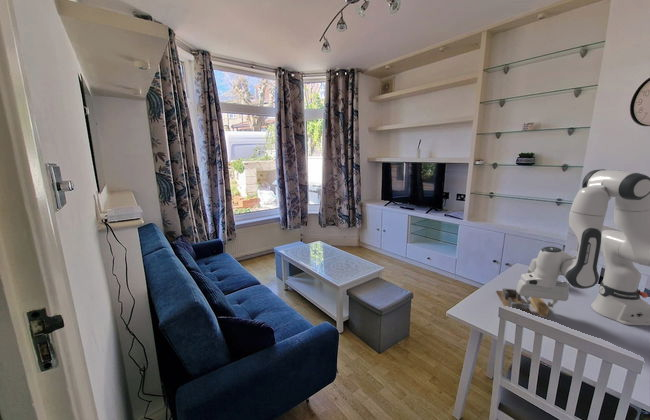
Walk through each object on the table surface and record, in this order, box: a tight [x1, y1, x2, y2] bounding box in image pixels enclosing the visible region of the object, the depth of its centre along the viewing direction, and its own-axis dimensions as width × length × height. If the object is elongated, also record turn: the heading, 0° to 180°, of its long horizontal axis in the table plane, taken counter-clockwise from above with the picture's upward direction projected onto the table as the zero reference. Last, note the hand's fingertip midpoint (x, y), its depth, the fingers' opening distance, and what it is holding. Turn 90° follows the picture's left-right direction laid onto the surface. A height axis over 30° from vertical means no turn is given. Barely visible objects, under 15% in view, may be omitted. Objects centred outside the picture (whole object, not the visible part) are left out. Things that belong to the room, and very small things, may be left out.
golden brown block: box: [529, 297, 550, 317], centre depth 132 cm, size 3×11×5 cm, turn 163°
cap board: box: [495, 287, 533, 314], centre depth 136 cm, size 10×20×4 cm, turn 163°
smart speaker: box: [527, 257, 537, 273], centre depth 157 cm, size 10×9×14 cm
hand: (538, 305), depth 131 cm, fingers open, 8 cm apart
